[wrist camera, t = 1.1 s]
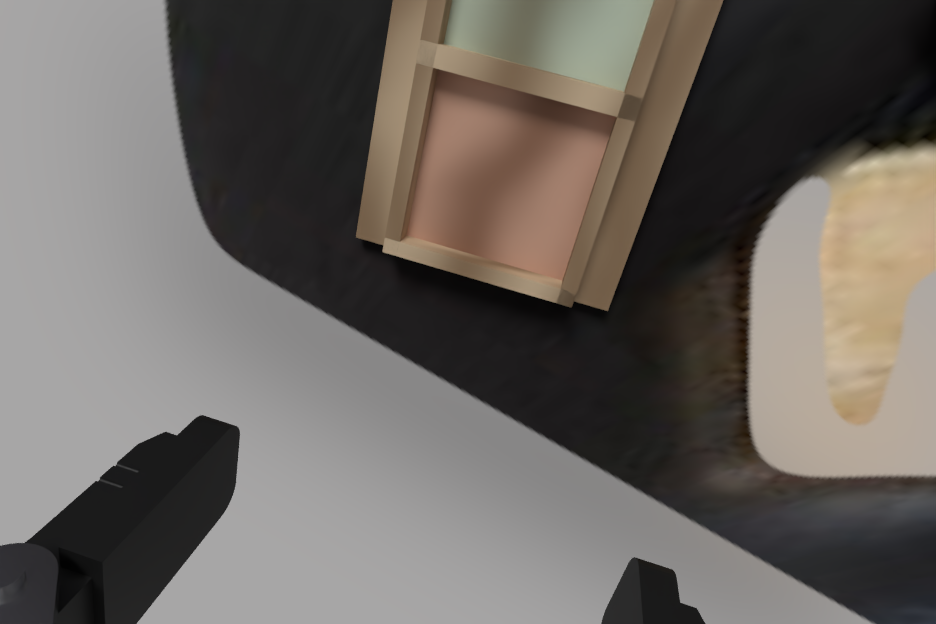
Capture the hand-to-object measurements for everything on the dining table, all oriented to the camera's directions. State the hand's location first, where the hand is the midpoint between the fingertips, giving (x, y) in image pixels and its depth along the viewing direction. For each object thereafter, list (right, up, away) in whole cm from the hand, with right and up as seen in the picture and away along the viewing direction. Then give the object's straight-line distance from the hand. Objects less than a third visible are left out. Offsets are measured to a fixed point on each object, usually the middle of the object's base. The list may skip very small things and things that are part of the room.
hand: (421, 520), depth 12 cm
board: (+4, +15, +17) cm, 23 cm away
